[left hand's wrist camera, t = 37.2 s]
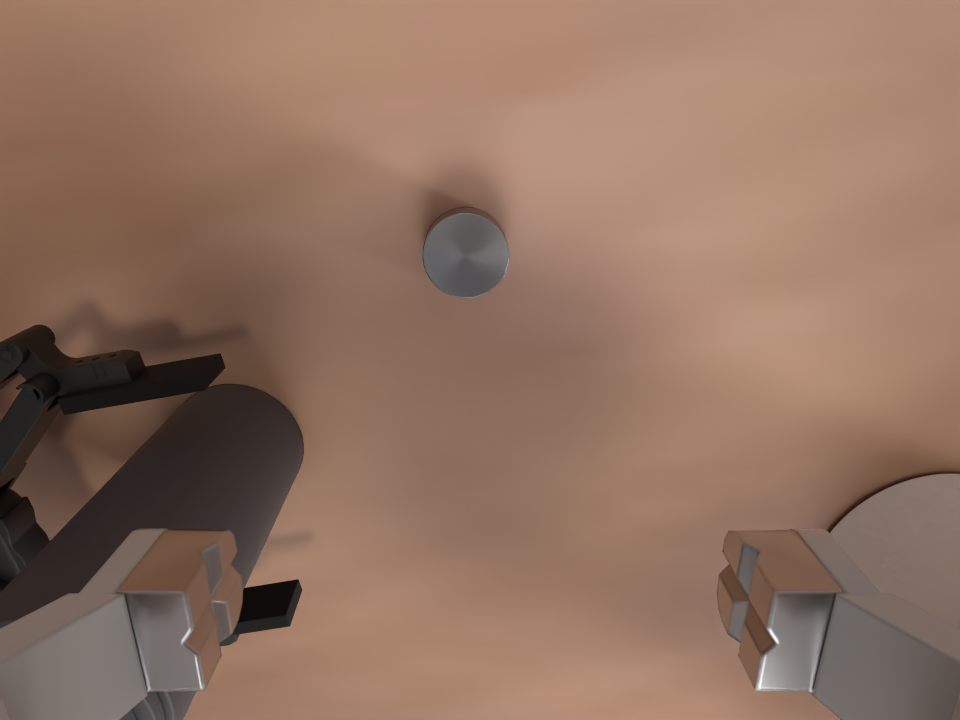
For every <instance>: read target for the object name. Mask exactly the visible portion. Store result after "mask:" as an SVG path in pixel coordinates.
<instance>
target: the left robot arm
mask: <svg viewBox="0 0 960 720" xmlns="http://www.w3.org/2000/svg"><path fill="white" fill-rule="evenodd" d="M236 554H237V547H236V541H235V536H234V534H233V533H232V532H231V531H230V530H212V529H166V528H164V529H138V530H135V531H132V532H131V533H130V534H129V536H128V537H127V538H126V539H125V540H124V541H123V543H122V544H121V545H120V546H119V547H118V548H117V549H116V551H115V552H114V553H113V554H112V555H111V556H110V558H109V559H108V560H107V561H106V562H105V563H104V565H103V566H102V567H101V568H100V569H99V570H98V572H97V573H96V574H95V575H94V576H93V577H92V578H91V580H90V581H89V582H88V583H87V584H86V585H85V587H84V588H83V589H82V590H81V591H80V592H79V593H69V594H67V595H65V596H63V597H61V598H59V599H57V600H55V601H53V602H51V603H49V604H47V605H45V606H43V607H41V608H39V609H37V610H36V611H34V612H32V613H30V614H28V615H26V616H24V617H22V618H20V619H18V620H16V621H14V622H12V623H10V624H8V625H6V626H4V627H2V628H0V720H119V719H120V718H122V717H123V716H124V715H125V714H126V713H127V712H129V711H130V710H131V709H132V708H133V707H134V706H136V705H137V704H138V703H139V702H140V701H142V700H143V699H144V698H145V697H146V696H147V695H148V694H147V692H171V691H205V689H206V687H207V685H208V682H209V680H210V678H211V676H212V674H213V672H214V670H215V668H216V666H217V664H218V662H219V660H220V658H221V656H222V655H221V649H220V642H222V641H223V640H225V639H226V638H227V637H229V636H230V635H232V633H233V631H234V629H235V627H236V625H237V622H238V620H239V616H240V611H241V607H242V602H243V585H242V578H241V574H240V573H239V572H238V571H237V570H236V569H235V568H234V567H233V566H232V565H231V563H232V561H233V559H234V557H235V555H236ZM723 554H724V555H725V557H726V559H727V561H728V563H729V565H728V566H727V567H726V568H725V569H724V570H723V571H722V572H721V573H720V574H719V578H718V587H717V598H718V609H719V613H720V616H721V620H722V623H723V625H724V627H725V629H726V631H727V633H728V635H730V636H731V637H733V638H734V639H735V640H737V641H738V642H740V649H739V655H738V656H739V658H740V660H741V662H742V664H743V666H744V668H745V670H746V672H747V674H748V676H749V678H750V680H751V682H752V684H753V686H754V688H755V690H756V691H788V692H813V694H812V695H813V696H814V697H815V698H816V699H818V700H819V701H820V702H821V703H822V704H823V705H825V706H826V707H827V708H828V709H829V710H831V711H832V712H833V713H834V714H835V715H836V716H838V717H839V718H840V719H841V720H960V474H935V475H928V476H923V477H918V478H914V479H911V480H907V481H904V482H901V483H899V484H896V485H894V486H891V487H889V488H887V489H885V490H883V491H880V492H879V493H877V494H875V495H873V496H872V497H870V498H868V499H867V500H865V501H864V502H862V503H861V504H859V505H858V506H857V507H855V508H854V509H853V510H852V511H850V512H849V513H848V514H847V515H846V516H845V517H844V518H843V519H842V520H841V521H840V522H839V523H838V524H837V525H836V526H835V527H834V528H833V530H832V531H831V532H830V533H829V532H828V531H826V530H824V529H821V528H808V529H790V530H739V531H728V533H727V535H726V537H725V540H724V546H723Z"/></svg>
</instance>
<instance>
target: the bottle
mask: <svg viewBox="0 0 960 720" xmlns="http://www.w3.org/2000/svg"><path fill="white" fill-rule="evenodd" d="M303 454H304V445H303V438H302V435H301V431H300V429H299V427H298V424H297V422H296V421H295V419H294V418H293V416H292V415H291V413H290V412H289V411H288V410H287V409H286V408H285V407H284V406H283V405H282V404H281V403H280V402H278V401H277V400H276V399H275V398H273V397H271V396H270V395H268V394H266V393H264V392H262V391H260V390H257V389H254V388H251V387H247V386H242V385H232V384H230V385H218V386H213V387H209V388H206V389H205V390H203V391H199V392H197V393H196V394H194V395H193V396H191V397H190V398H189V399H188V400H186V401H185V402H184V403H183V404H182V405H181V406H180V407H179V408H178V409H177V411H176V412H175V413H174V414H173V415H172V416H171V417H170V418H169V419H168V420H167V421H166V422H165V423H164V424H163V425H162V426H161V427H160V428H159V429H158V430H157V431H156V432H155V433H154V434H153V435H152V436H151V437H150V438H149V439H148V441H147V442H146V443H145V444H144V445H143V446H142V447H141V448H140V449H139V450H138V451H137V452H136V453H135V454H134V455H133V456H132V457H131V458H130V459H129V460H128V461H127V462H126V463H125V464H124V465H123V466H122V467H121V468H120V469H119V471H118V472H117V473H116V474H115V475H114V476H113V477H112V478H111V479H110V480H109V481H108V482H107V483H106V484H105V485H104V486H103V487H102V488H101V489H100V490H99V491H98V492H97V493H96V494H95V495H94V496H93V497H92V498H91V499H90V500H89V502H88V503H87V504H86V505H85V506H84V507H83V508H82V509H81V510H80V511H79V512H78V513H77V514H76V515H75V516H74V517H73V518H72V519H71V520H70V521H69V522H68V523H67V524H66V525H65V526H64V527H63V528H62V529H61V530H60V532H59V533H58V534H57V535H56V536H55V537H54V538H53V539H52V540H51V541H50V542H49V543H48V544H47V545H46V546H45V547H44V548H43V549H42V550H41V551H40V552H39V553H38V554H37V555H36V556H35V557H34V558H33V559H32V560H31V562H30V563H29V564H28V565H27V566H26V567H25V568H24V569H23V570H22V571H21V572H20V573H19V574H18V575H17V576H16V577H15V578H14V579H13V580H12V581H11V582H10V583H9V584H8V585H7V586H6V587H5V588H4V589H3V590H2V592H1V593H0V628H2V627H4V626H6V625H8V624H10V623H12V622H14V621H16V620H18V619H20V618H22V617H24V616H26V615H28V614H30V613H32V612H34V611H36V610H37V609H39V608H41V607H43V606H45V605H47V604H49V603H51V602H53V601H55V600H57V599H59V598H61V597H63V596H65V595H67V594H69V593H79V592H80V591H81V590H82V589H83V588H84V587H85V585H86V584H87V583H88V582H89V581H90V580H91V578H92V577H93V576H94V575H95V574H96V573H97V572H98V570H99V569H100V568H101V567H102V566H103V565H104V563H105V562H106V561H107V560H108V559H109V558H110V556H111V555H112V554H113V553H114V552H115V551H116V549H117V548H118V547H119V546H120V545H121V544H122V543H123V541H124V540H125V539H126V538H127V537H128V536H129V534H130V533H131V532H132V531H135V530H138V529H164V528H166V529H212V530H230V531H231V532H232V533H233V534H234V536H235V541H236V547H237V554H236V555H235V557H234V559H233V561H232V563H231V565H232V566H233V567H234V568H235V569H236V570H237V571H238V572H239V573H240V574H241V578H242V585H243V589H244V587H245V585H246V583H247V581H248V579H249V577H250V574H251V572H252V570H253V568H254V566H255V564H256V561H257V559H258V557H259V555H260V553H261V551H262V549H263V546H264V544H265V542H266V540H267V538H268V536H269V533H270V531H271V529H272V527H273V525H274V523H275V521H276V518H277V516H278V514H279V512H280V510H281V508H282V505H283V503H284V501H285V499H286V497H287V495H288V493H289V490H290V488H291V486H292V484H293V482H294V480H295V477H296V475H297V473H298V471H299V469H300V467H301V463H302V460H303ZM195 693H196V691H171V692H147V694H148V695H147V696H146V697H145V698H144V699H143V700H142V701H140V702H139V703H138V704H137V705H136V706H134V707H133V708H132V709H131V710H130V711H129V712H127V713H126V714H125V715H124V716H123V717H122V718H120V719H119V720H183V719H184V716H185V714H186V712H187V710H188V708H189V706H190V704H191V701H192V699H193V697H194V695H195Z"/></svg>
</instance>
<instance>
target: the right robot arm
mask: <svg viewBox="0 0 960 720" xmlns="http://www.w3.org/2000/svg"><path fill="white" fill-rule="evenodd" d="M54 343H55V336H54V333H53V332H52V330H51V329H49V328H48V327H47V326H44V325H35V326H33V327H31V328H28V329H26V330H24V331H22V332H20V333H18V334H16V335H14V336H12V337H10V338H8V339H6V340H4V341H2V342H0V390H1V389H2V388H3V387H4V386H6V385H7V384H8V383H9V382H10V381H12V380H13V379H14V378H15V377H16V376H17V375H19V374H21V375H22V376H23V377H24V378H25V379H26V380H27V381H25V382H24V383H22V384H20V385H19V386H18V387H17V388H16V389H17V390H19V389H20V388H22V390H21V391H20V393H19V395H18V396H17V398H16V399H15V401H14V402H13V404H12V406H11V407H10V409H9V410H8V412H7V413H6V415H5V417H4V418H3V420H2V421H1V423H0V593H1V592H2V590H3V589H4V588H5V587H6V586H7V585H8V584H9V583H10V582H11V581H12V580H13V579H14V578H15V577H16V576H17V575H18V574H19V573H20V572H21V571H22V570H23V569H24V568H25V567H26V566H27V565H28V564H29V563H30V562H31V560H32V559H33V558H34V557H35V556H36V555H37V554H38V553H39V552H40V551H41V550H42V549H43V548H44V547H45V546H46V545H47V544H48V543H49V542H50V540H49V538H48V536H47V534H46V533H45V532H44V531H43V530H42V528H41V527H40V526H39V525H38V524H37V522H36V519H35V514H34V509H33V507H32V505H31V503H30V501H29V499H28V497H22V498H21V496H20V495H18V494H17V493H16V492H15V491H13V490H11V489H10V488H11V487H12V485H13V484H14V482H15V481H16V479H17V478H18V476H19V475H20V473H21V472H22V470H23V469H24V467H25V466H26V463H25V462H26V460H27V458H28V457H29V455H30V454H31V452H32V451H33V449H34V448H35V446H36V445H37V443H38V442H39V440H40V439H41V437H42V436H43V434H44V433H45V431H46V430H47V428H48V427H49V425H50V424H51V422H52V421H53V419H54V418H55V416H56V415H57V413H58V412H59V410H60V409H62V411H63V414H64V415H65V414H71V413H77V412H82V411H88V410H94V409H100V408H105V407H111V406H117V405H123V404H128V403H134V402H140V401H146V400H152V399H157V398H163V397H169V396H175V395H180V394H186V393H192V392H198V391H203V390H205V389H206V388H207V387H208V386H209V385H210V384H211V383H212V382H213V381H214V379H215V378H216V377H217V376H218V375H219V374H220V373H221V372H222V371H223V370H224V369H225V365H224V362H223V359H222V356H221V353H220V354H215V355H209V356H203V357H197V358H192V359H186V360H180V361H175V362H169V363H163V364H158V365H152V366H146V367H145V365H144V363H143V360H142V358H141V355H140V352H139V351H133V350H128V349H127V350H121V351H116V352H110V353H104V354H99V355H93V356H87V357H82V358H71V357H69V356H66V355H65V354H63V353H62V352H61V351H60V350H59V349H58V348H57V347H56V346H55V345H54ZM301 592H302V588H301V585H300V582H299V580H292V581H286V582H279V583H273V584H267V585H261V586H254V587H248V588H244V589H243V602H242V607H241V611H240V616H239V620H238V622H237V625H236V627H235V629H234V631H233V633H232V635H230V636H229V637H227V638H226V639H225V640H223V641H222V642H220V646H226V645H230V644H232V643H233V642H235V641H237V639H238V636H239V634H243V633H250V632H256V631H263V630H269V629H275V628H282V627H288V626H290V624H291V621H292V618H293V616H294V613H295V610H296V607H297V604H298V601H299V598H300V595H301Z"/></svg>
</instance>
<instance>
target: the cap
mask: <svg viewBox="0 0 960 720" xmlns="http://www.w3.org/2000/svg"><path fill="white" fill-rule="evenodd" d="M508 261H509V250H508V245H507V241H506V238H505V235H504V233H503V230H502V228H501V227H500V225H499V224H498V222H497V221H496V220H495V219H494V218H493V217H492V216H490V215H489V214H488V213H486V212H484V211H482V210H479V209H476V208H471V207H460V208H455V209H452V210H450V211H447V212H445V213H444V214H442V215H441V216H440V217H439V218H437V219H436V221H435V222H434V223H433V224H432V226H431V227H430V229H429V231H428V234H427V237H426V240H425V243H424V248H423V263H424V267H425V270H426V273H427V275H428V277H429V278H430V280H431V281H432V282H433V283H434V285H435V286H437V287H438V288H439V289H440V290H442V291H443V292H445V293H447V294H449V295H451V296H454V297H459V298H473V297H477V296H481V295H483V294H485V293H487V292H489V291H490V290H492V289H493V288H494V287H495V286H496V285H497V284H498V283H499V282H500V281H501V279H502V278H503V276H504V274H505V272H506V269H507V266H508Z"/></svg>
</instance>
